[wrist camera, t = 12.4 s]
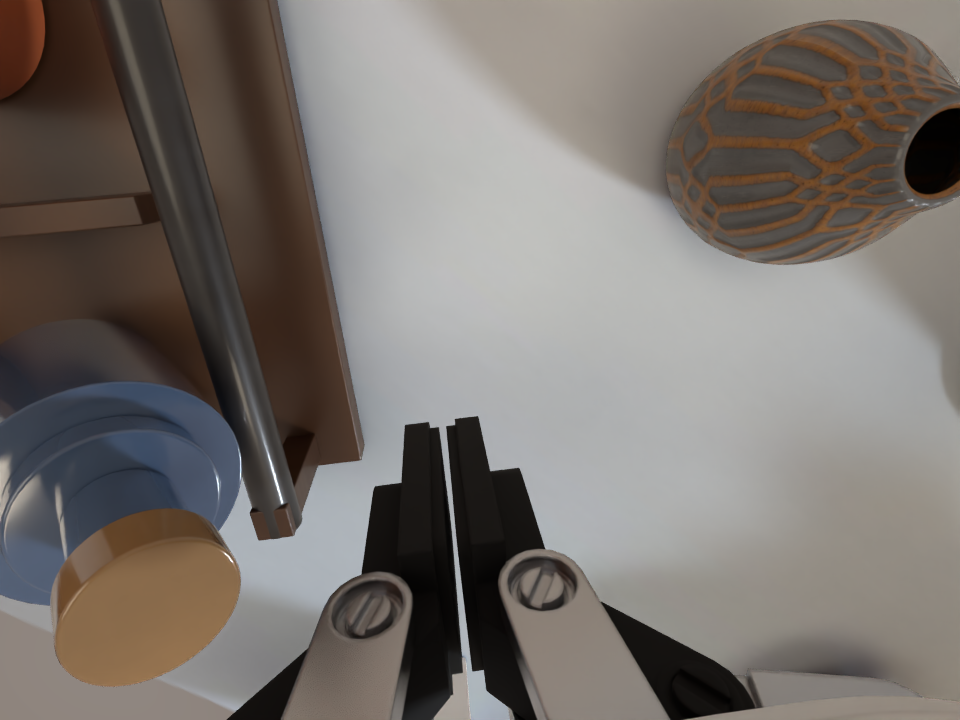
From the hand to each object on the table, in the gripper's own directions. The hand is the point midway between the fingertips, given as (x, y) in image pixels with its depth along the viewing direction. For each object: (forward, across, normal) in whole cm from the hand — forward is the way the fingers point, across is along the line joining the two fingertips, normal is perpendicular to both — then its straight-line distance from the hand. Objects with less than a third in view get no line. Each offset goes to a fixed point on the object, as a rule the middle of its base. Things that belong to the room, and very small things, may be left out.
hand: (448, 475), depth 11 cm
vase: (+10, -12, -6) cm, 17 cm away
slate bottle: (+7, +12, 0) cm, 14 cm away
